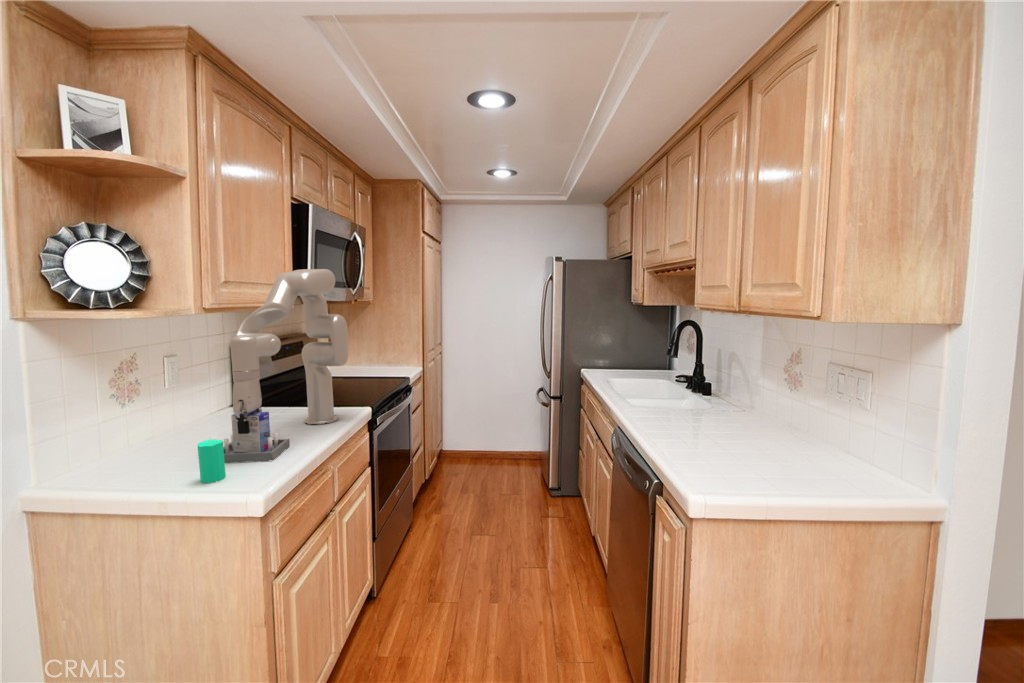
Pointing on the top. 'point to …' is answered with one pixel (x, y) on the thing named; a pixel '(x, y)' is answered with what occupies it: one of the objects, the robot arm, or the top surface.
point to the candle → (211, 461)
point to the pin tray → (273, 451)
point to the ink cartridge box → (252, 433)
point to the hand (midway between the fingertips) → (250, 429)
